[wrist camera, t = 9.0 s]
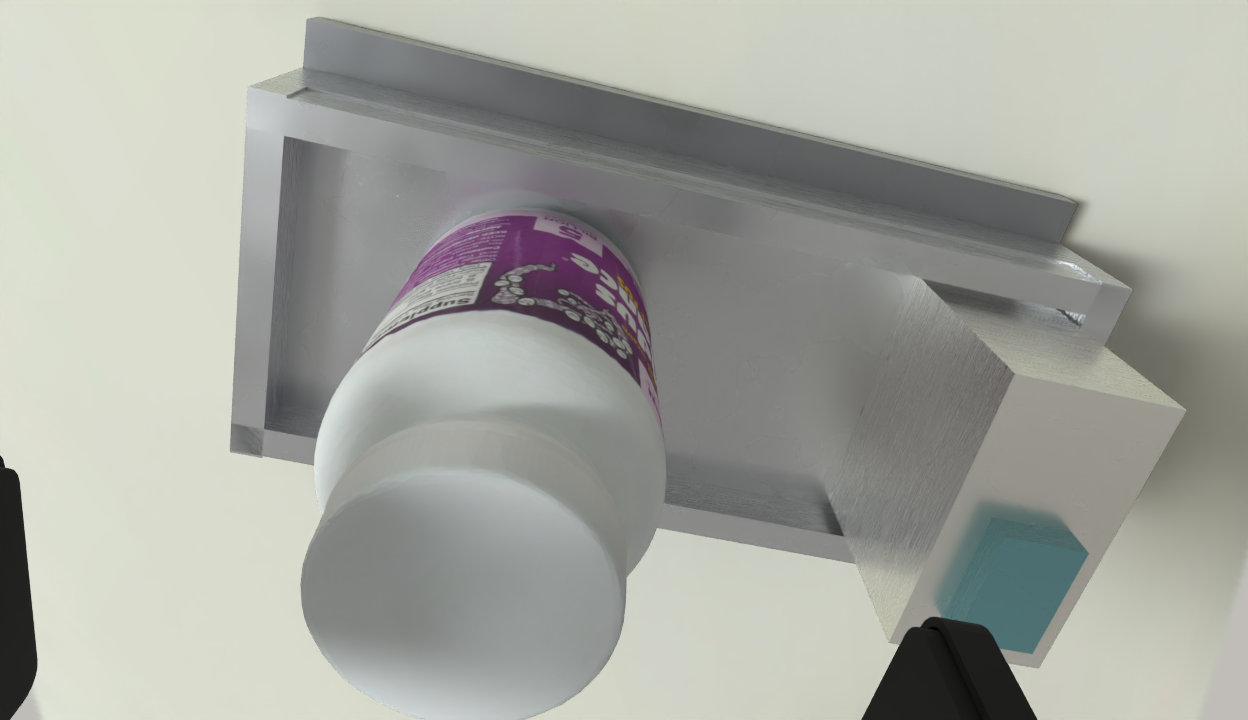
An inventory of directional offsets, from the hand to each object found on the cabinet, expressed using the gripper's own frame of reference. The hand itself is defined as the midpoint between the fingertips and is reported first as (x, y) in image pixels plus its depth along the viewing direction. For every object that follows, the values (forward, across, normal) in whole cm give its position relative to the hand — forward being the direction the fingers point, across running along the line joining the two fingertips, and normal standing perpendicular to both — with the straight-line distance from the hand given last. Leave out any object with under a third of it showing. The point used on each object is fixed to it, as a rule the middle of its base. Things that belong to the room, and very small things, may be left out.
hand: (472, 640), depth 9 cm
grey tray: (+14, -3, +1) cm, 14 cm away
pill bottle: (+11, 0, +1) cm, 11 cm away
